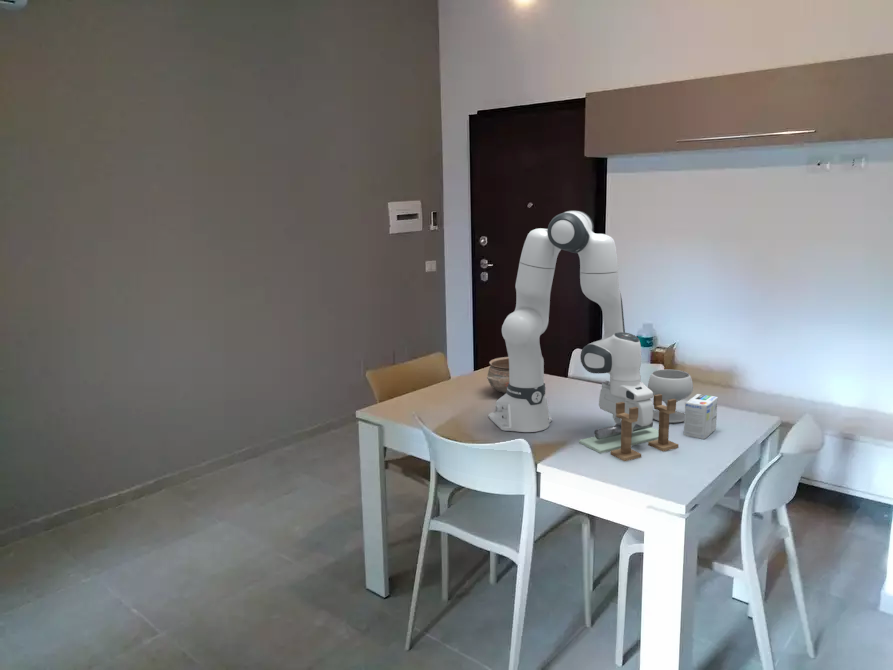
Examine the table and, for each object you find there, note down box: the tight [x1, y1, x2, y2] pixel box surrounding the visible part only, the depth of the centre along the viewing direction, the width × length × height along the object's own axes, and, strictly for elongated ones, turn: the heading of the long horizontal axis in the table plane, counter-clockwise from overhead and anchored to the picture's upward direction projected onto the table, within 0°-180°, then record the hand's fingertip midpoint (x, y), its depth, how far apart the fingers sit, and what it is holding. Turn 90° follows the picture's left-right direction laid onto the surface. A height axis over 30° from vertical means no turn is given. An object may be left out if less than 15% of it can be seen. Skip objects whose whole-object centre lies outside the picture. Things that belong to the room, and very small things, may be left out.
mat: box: [578, 426, 659, 454], centre depth 199 cm, size 10×26×1 cm, turn 116°
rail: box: [594, 421, 654, 440], centre depth 199 cm, size 20×3×3 cm, turn 116°
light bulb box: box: [683, 393, 719, 440], centre depth 203 cm, size 11×7×11 cm, turn 141°
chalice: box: [647, 368, 694, 424], centre depth 216 cm, size 14×14×15 cm
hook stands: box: [610, 394, 679, 462], centre depth 189 cm, size 6×20×15 cm, turn 116°
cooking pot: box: [486, 356, 509, 395], centre depth 249 cm, size 25×19×12 cm
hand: (624, 431), depth 199 cm, fingers closed on rail, 3 cm apart
